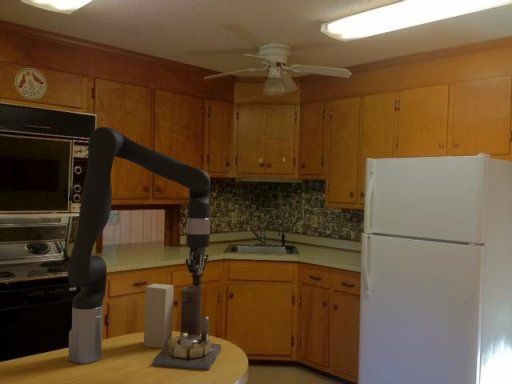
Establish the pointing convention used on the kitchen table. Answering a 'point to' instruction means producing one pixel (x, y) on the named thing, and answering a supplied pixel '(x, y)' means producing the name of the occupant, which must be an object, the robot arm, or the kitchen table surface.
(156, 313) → the light grey tall block
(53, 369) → the kitchen table surface
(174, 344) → the tan block ring
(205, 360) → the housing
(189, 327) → the candle
